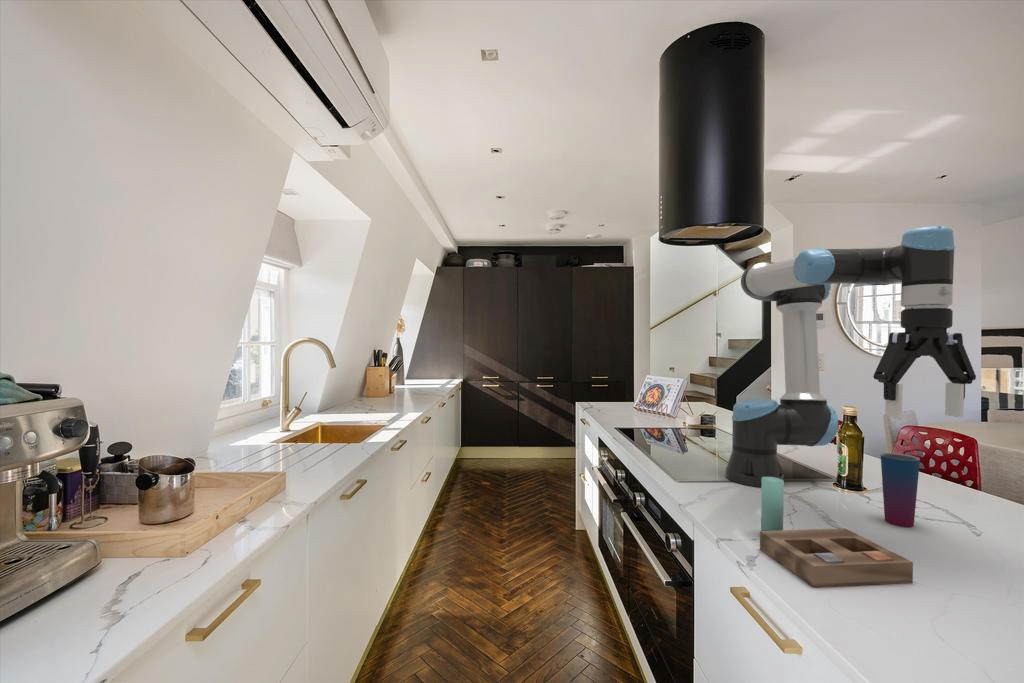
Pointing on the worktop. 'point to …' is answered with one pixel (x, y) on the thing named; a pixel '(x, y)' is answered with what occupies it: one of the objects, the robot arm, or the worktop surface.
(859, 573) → the socket board
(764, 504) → the plug
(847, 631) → the worktop surface
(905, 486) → the cup
